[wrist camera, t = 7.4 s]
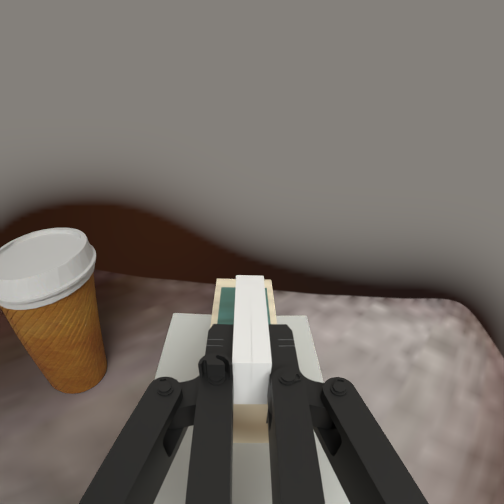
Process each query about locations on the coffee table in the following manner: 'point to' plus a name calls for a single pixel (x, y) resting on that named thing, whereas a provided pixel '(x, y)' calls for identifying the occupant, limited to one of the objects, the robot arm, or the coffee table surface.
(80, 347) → the disposable coffee cup
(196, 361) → the mat
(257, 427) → the block
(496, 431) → the coffee table surface
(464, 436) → the coffee table surface
